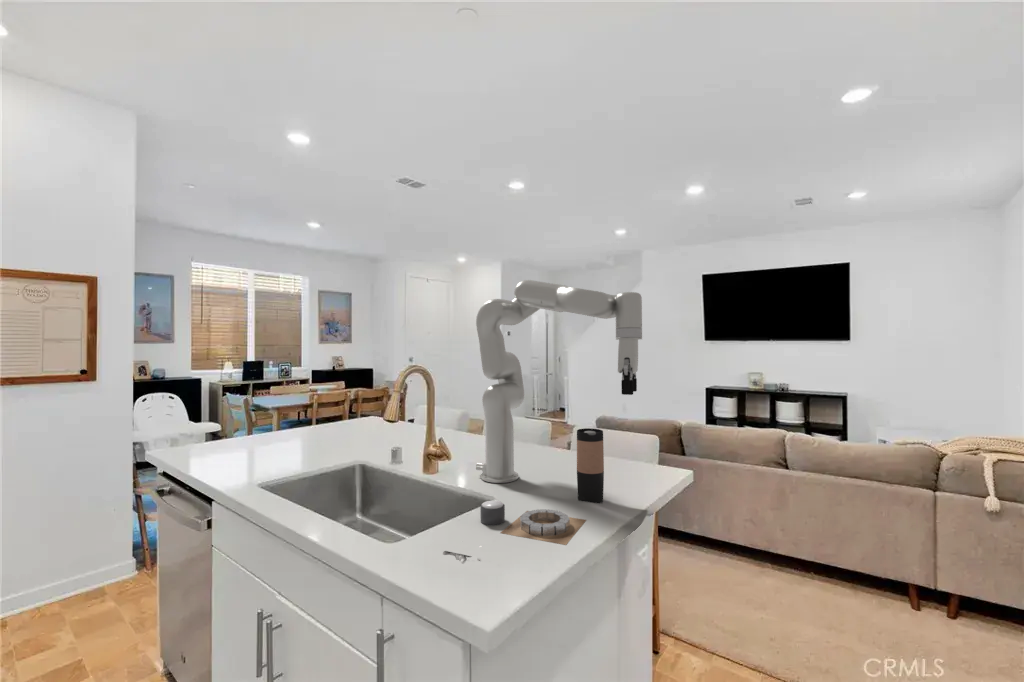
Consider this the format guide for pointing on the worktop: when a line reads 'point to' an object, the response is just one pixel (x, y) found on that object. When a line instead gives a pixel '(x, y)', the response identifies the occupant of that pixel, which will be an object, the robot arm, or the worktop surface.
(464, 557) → the acanthus leaf ornament
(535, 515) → the grey segmented ring
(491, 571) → the worktop surface
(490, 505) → the cap
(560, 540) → the board
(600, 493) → the travel mug
